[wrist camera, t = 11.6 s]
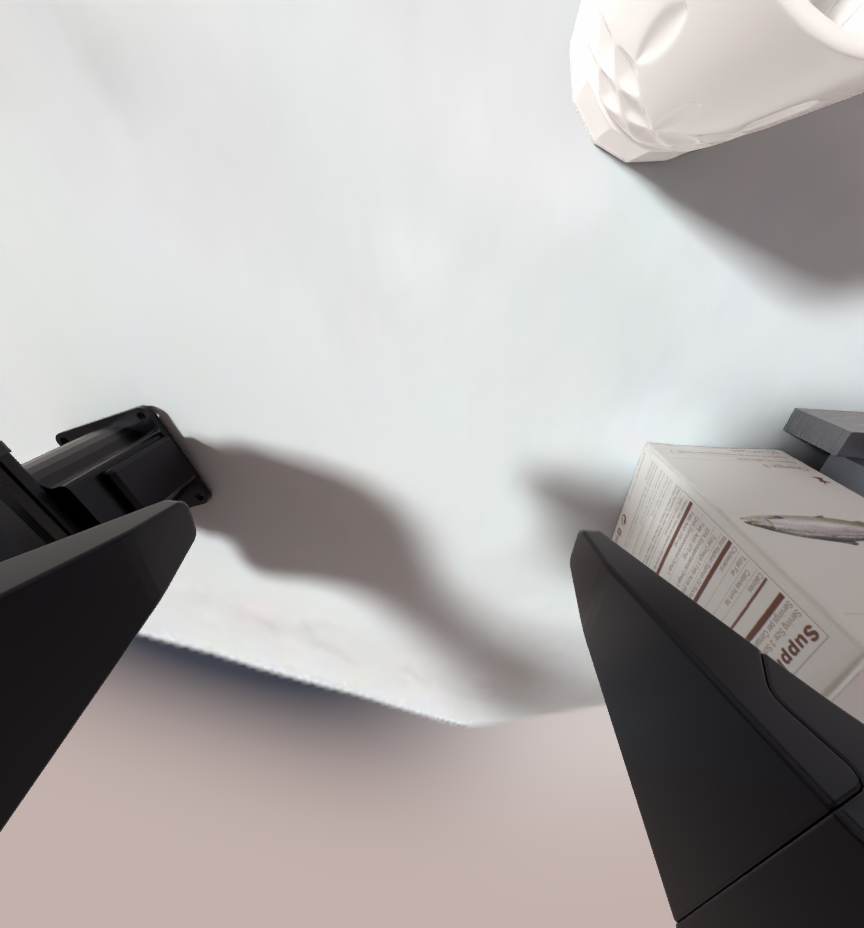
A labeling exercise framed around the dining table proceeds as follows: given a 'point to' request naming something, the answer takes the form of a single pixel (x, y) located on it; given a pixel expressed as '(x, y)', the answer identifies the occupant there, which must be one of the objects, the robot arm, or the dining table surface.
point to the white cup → (708, 69)
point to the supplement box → (759, 554)
